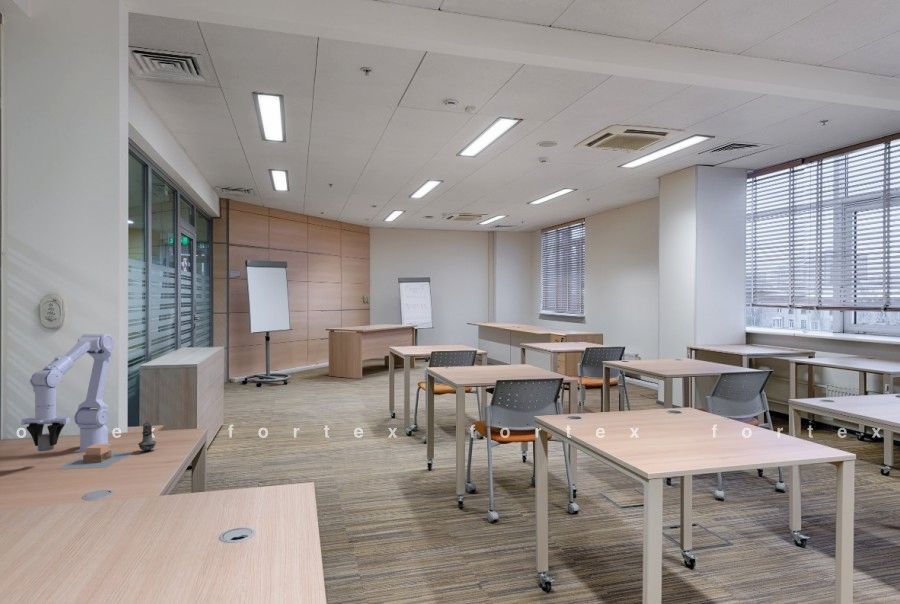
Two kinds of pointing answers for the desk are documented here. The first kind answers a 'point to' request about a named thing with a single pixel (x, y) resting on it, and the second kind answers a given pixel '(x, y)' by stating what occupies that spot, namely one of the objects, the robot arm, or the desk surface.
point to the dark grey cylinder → (44, 442)
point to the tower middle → (97, 449)
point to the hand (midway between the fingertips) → (45, 445)
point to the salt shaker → (147, 439)
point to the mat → (79, 463)
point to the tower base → (96, 457)
